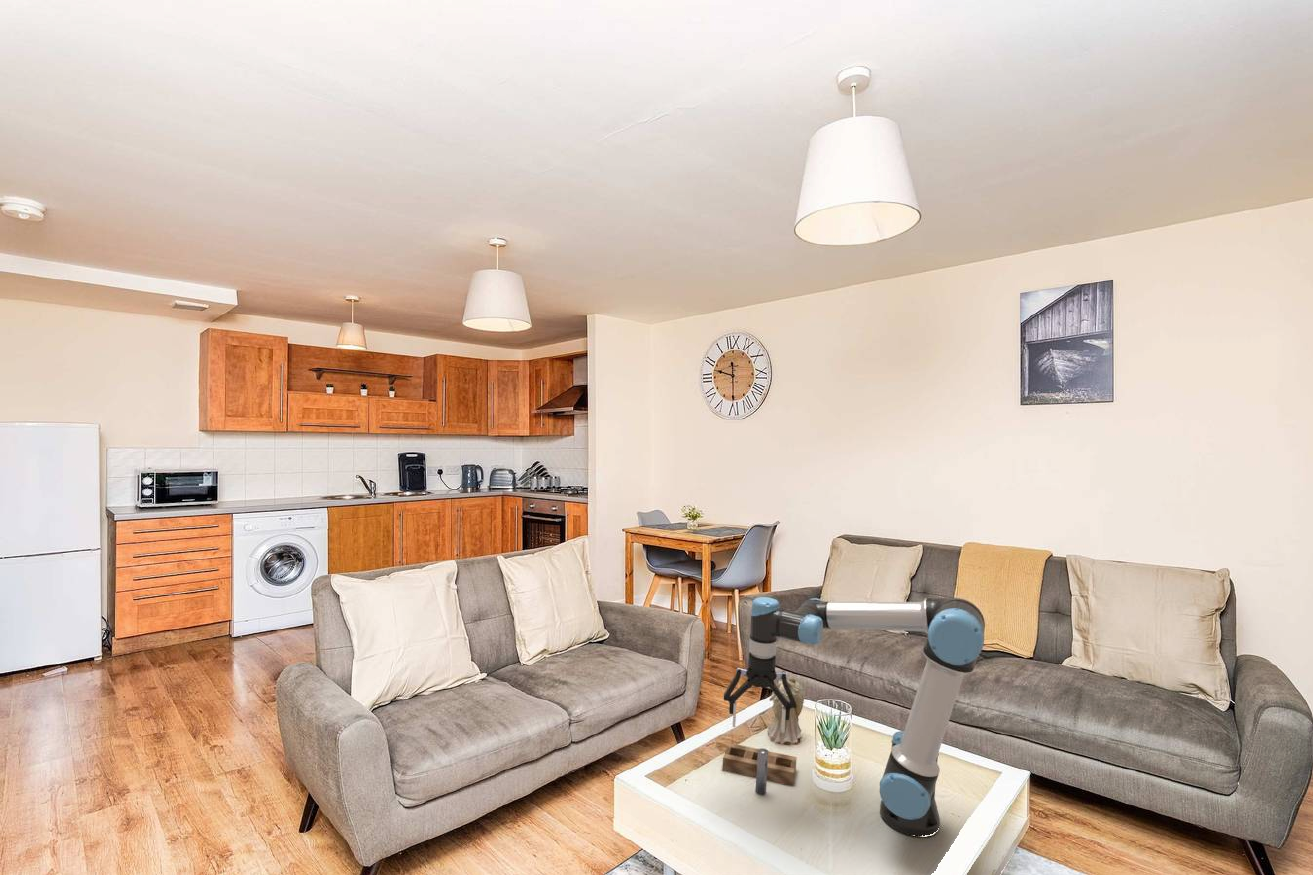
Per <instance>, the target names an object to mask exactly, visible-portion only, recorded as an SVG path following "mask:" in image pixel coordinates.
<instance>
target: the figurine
mask: <svg viewBox="0 0 1313 875" xmlns="http://www.w3.org/2000/svg"><path fill="white" fill-rule="evenodd" d="M787 682H788V684H789V687H790V689H791V691H792V694H793V696H794V698H795V700H796V704H797V707H796V708H791V709H790V715H789V720H785V731H784V733H782V731H781V722H782V705H783V704H782V703H781V701H780V700H779V699H778V697H777V696H776V695H775V693H773V694H774V695H770V697H769V701H770V702H771V701H772V702H773V705H772V709H773V714H774V715H773V719H772V723H771V724H770V725H768V726H767V734H768V737H769V739H770V741H771V742H773V743H775V744H776V745H779V746H785V747H794V746H798V745H801V744H802V742H801V739H802V738H803V737H802V735H801V732H802V729H801V727H800V725H799V719H800V718H799V717H800V715H801V713H802V711H803V708H804V703H805V702H804V701H805V698H804V689H803V687H802V686H801V684H800V683H799V682H798V680H796V679H795V678H791V679H788V680H787ZM777 687H778V689H779V690H780V691H781V693H782V694H783V695H784V697H785V698H786V699H787V701H788V702H790V700H789V698H788V695H787V693H786V691H785V688H784V686H783V683H782V681H780V680H778V682H777ZM787 742H788V743H787Z"/></svg>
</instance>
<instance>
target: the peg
mask: <svg viewBox="0 0 1313 875" xmlns="http://www.w3.org/2000/svg"><path fill="white" fill-rule="evenodd" d="M757 749H758V758H757V773H756V778H755V793H756V794H757V795H760V796H764V795H766V793H767V783H768V782H767V781H768V780H767V769H768V754H769V750H768V749H766V748H757Z"/></svg>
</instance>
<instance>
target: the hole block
mask: <svg viewBox="0 0 1313 875" xmlns="http://www.w3.org/2000/svg"><path fill="white" fill-rule="evenodd" d="M758 749H759V748H755V747H750V746H746V745H741V744H738V743H737V744H735V743H730V742H728V744H727V747H726V749H725V752H724V754H723V757H722V768H721V770H722V771H724V772H728V773H733V774H737V775H743V776H746V777H751V778H755V779H756V773H757V758H758ZM768 751H769V750H768ZM796 771H797V756H795V755H794V756H793V755H788V754H784V753H778V752H774V751H771V750H770V751H769V754H768V769H767V781H769V782H773V783H778V784H782V785H786V786H791V787H793V786H794V782H795V777H796Z"/></svg>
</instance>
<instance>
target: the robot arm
mask: <svg viewBox="0 0 1313 875" xmlns="http://www.w3.org/2000/svg"><path fill="white" fill-rule="evenodd" d="M749 625H750V628H749V644H748V651H749V653H748V659H747V660H748V664H747V668H746V669H745V668H742V667H741V666H737V668H736V672H735V673H736V674H735V675H734V676H733V678H732V680H731V682H730V683H729V685H728V686H727V687H726V688H727V689H726V690H725V691H724V694H723V700H724V701H727V702H728V703H729V709H728V712H729V714H730V715H732V728H736V720H737V719H736V718H737V701H738V699H739V698H740V697H742V695H743V694H745V693H746V691H748V690H749V689H750V688H752V686H754V687H755V688H763V689H767V688H768V687H769V689H770V691H772V692H773V694H775V695H776V696H777V697H778V699H779V700H780V701H781V703H782V704H783V705H782V722H781V731H782V733H784V731H785V720H789V715H790V709H791V708H796V707H797V704H796V700H795V698H794V696H793V694H792V691H791V689H790V687H789V684H788V682H787V681H788V680H787V672H786V671H785V670H783V671H781V672H776V664H777V662H776V660H777V659H776V658H777V656H776V655H777V643H778V638H782V639H786V640H791V641H794V642H800V643H802V644H805V645H806V644H808V645H818V644H820V642H821V638H822V637H823V632H824V631H823V630H824V629H827V630H831V629H832V630H833V629H834V630H861V631H863V630H864V631H865V630H867V631H896V632H897V631H898V632H901V631H902V632H903V631H904V632H924V633H926V635H927V636H926V640H925V643H924V646H923V650H922V653H923V656H924V657H925V659H926V663H925V666H924V669H923V671H922V674H921V678H920V682H919V685H918V687H917V690H916V693H915V697H914V699H913V703H912V706H911V710H910V713H909V716H908V719H907V721H906V725H905V728H904V730H900V731H899V730H898V731H896V732H894V733H893V735H892V740H891V741H890V742H891V751H890V753H889V756H888V760H887V763H886V766H885V768H884V772H883V775H882V778H881V779H880V782H879V795H880V798H881V801H880V806H879V807H880V808H879V815H880V818H881V819H882V820H883V821H884V823H885V824H886V825H888V826H889V827H890V828H891V829H893V830H894V831H897V832H899V833H901V834H904V835H906V834H908V835H907V836H909V835H915V836H922V835H923V836H925V835H930V834H933V833H934V832H936V831H937V830H938V828H939V829H940V827H939V826H940V825H941V819H940V814H939V810H938V806H937V803H936V802H937V801H936V798H935V797H936V784H937V781H938V778H939V774H940V769H941V768H940V766H939V765H938V761H939V760H938V759H939V756H940V753H939V751H940V750H941V746H942V743H943V740H944V737H945V734H946V732H947V731H946V730H947V727H948V725H949V722H950V718H951V715H952V712H953V709H954V706H955V703H956V700H957V697H958V695H959V691H960V688H961V686H962V681H963V679H964V676H967V675H970V674H972V673H973V671H974V668H975V666H976V664H977V659H978V656H980V654H981V653H982V650H983V648H984V645H985V629H986V620H985V618H984V615H983V613H982V611H981V610H980V609H979V607H978V606H976V605H975V603H973V602H971V601H969V600H967V599H964V598H959V597H925V598H924V599H923V601H823V600H822V599H820V598H815V597H814V598H813V597H812V598H809V599H807V600H805V601H804V602H803V603H802V605H801V606H799V608H797V609H796V610H795V611H792V610H786V609H782V608H780V603H779V601H778V600H777V599H776V598H772V597H768V596H760V597H756V598H755V599H753V600H752V602H751V612H750V624H749ZM744 675H746V677H747V679H746V680H745V681H744V682H743V684H741V686H739V687H738V688H737V690H736V691H734V690H735V688H736V686H737V685H738V683H739V681H740V680H741V678H743V677H744ZM776 679H778V681H782V683H783V686H784V688H785V691H786V693H787V695H788V698H789V700H790V702H788V701H787V699H786V698H785V697H784V695H783V694H782V693H781V691H780V690H779V687H778V685H777V684H776V683H775V680H776ZM733 692H734V693H733Z"/></svg>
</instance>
